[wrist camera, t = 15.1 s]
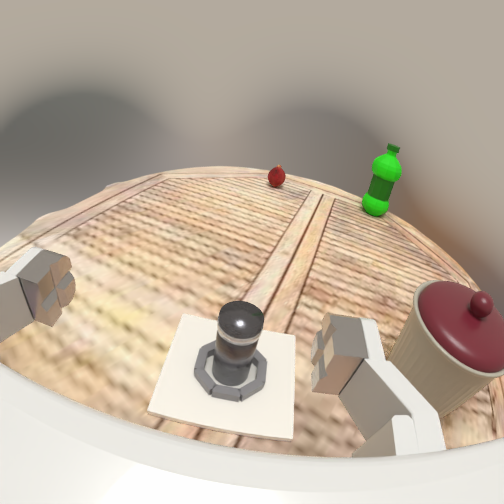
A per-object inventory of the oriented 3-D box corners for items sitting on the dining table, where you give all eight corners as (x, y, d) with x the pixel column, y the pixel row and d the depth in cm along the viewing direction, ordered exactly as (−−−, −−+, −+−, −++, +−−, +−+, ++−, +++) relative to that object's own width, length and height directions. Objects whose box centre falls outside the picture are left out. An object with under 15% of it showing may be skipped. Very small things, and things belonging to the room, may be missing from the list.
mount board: (147, 413, 33) (145, 405, 31) (183, 317, 48) (183, 306, 46) (290, 441, 33) (296, 434, 31) (293, 339, 48) (297, 329, 47)
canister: (406, 463, 30) (514, 372, 19) (340, 374, 43) (403, 262, 32) (467, 407, 38) (544, 319, 26) (409, 341, 51) (465, 247, 39)
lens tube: (207, 382, 38) (214, 328, 32) (215, 353, 42) (223, 296, 36) (246, 390, 38) (263, 337, 32) (251, 360, 42) (266, 305, 36)
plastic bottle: (379, 222, 95) (404, 151, 81) (353, 208, 100) (374, 139, 87) (389, 216, 102) (412, 151, 88) (365, 203, 107) (385, 140, 94)
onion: (277, 191, 100) (282, 169, 96) (262, 185, 102) (267, 163, 98) (285, 188, 104) (290, 166, 100) (271, 182, 107) (276, 161, 102)
